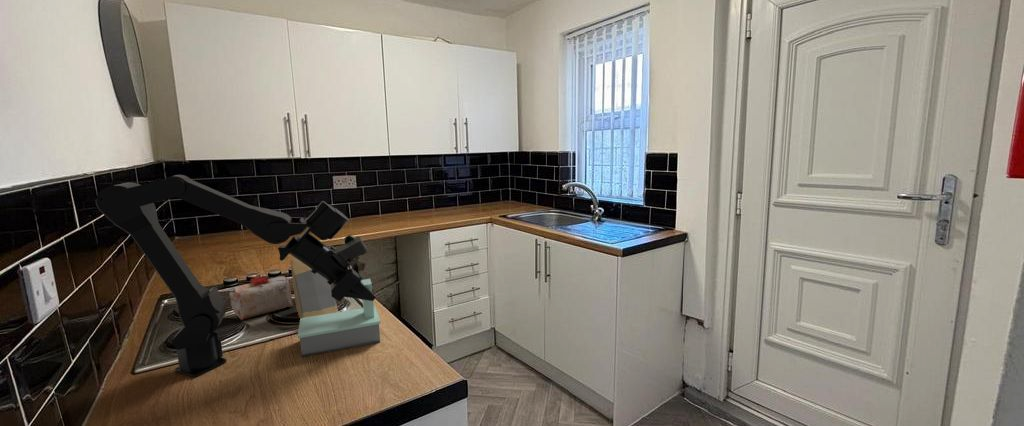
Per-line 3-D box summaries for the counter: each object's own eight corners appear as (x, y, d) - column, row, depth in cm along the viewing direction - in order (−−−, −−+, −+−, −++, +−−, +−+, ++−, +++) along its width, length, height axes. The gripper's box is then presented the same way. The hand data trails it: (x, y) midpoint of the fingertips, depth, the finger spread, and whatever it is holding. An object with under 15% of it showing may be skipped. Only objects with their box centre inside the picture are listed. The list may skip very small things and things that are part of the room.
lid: (298, 342, 89) (293, 299, 87) (301, 324, 98) (296, 285, 96) (380, 327, 95) (377, 287, 94) (376, 312, 104) (373, 274, 102)
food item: (237, 323, 107) (232, 286, 106) (231, 314, 113) (226, 278, 112) (295, 308, 116) (291, 274, 115) (287, 300, 122) (283, 267, 121)
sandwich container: (304, 333, 102) (298, 273, 99) (295, 312, 114) (289, 258, 111) (342, 324, 106) (337, 266, 104) (329, 305, 119) (324, 253, 116)
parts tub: (301, 357, 90) (299, 337, 89) (303, 339, 98) (301, 320, 97) (380, 342, 96) (378, 323, 95) (376, 326, 104) (374, 309, 104)
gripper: (344, 236, 85) (403, 280, 91) (341, 220, 102) (391, 258, 108) (304, 279, 83) (367, 321, 90) (308, 255, 100) (361, 293, 106)
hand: (373, 295), depth 98 cm, fingers open, 4 cm apart
